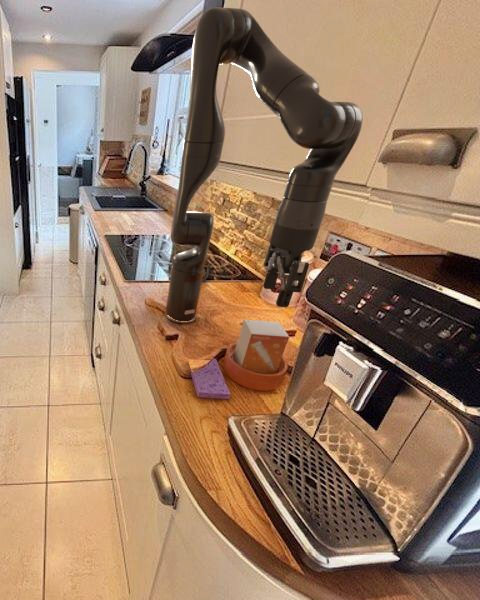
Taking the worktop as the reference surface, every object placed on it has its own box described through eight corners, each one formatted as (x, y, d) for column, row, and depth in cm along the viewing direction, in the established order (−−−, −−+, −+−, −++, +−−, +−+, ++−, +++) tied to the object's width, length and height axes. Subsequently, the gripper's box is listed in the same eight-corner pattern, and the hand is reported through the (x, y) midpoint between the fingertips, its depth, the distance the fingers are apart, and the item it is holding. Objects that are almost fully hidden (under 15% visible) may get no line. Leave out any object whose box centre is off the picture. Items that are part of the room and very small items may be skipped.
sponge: (197, 397, 74) (198, 391, 73) (187, 362, 85) (188, 356, 84) (229, 400, 73) (231, 393, 72) (214, 363, 84) (216, 358, 83)
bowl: (218, 354, 87) (221, 339, 85) (271, 359, 85) (276, 343, 83) (228, 388, 76) (233, 372, 74) (290, 395, 74) (297, 379, 71)
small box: (238, 378, 78) (250, 333, 72) (231, 361, 84) (242, 318, 77) (274, 381, 77) (290, 336, 71) (265, 364, 83) (279, 321, 76)
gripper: (337, 234, 56) (307, 314, 64) (303, 214, 68) (281, 284, 76) (290, 232, 57) (266, 311, 65) (264, 213, 69) (247, 281, 77)
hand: (274, 296), depth 70 cm, fingers open, 8 cm apart
